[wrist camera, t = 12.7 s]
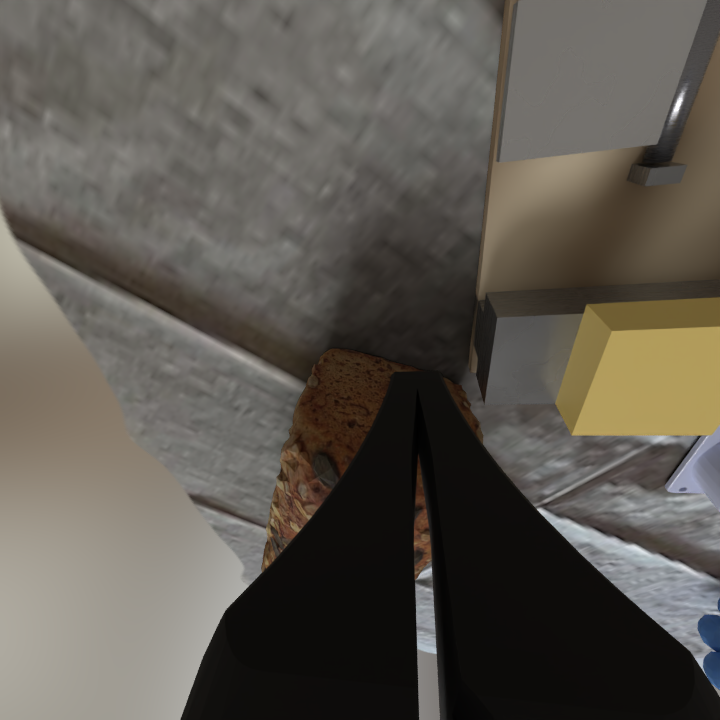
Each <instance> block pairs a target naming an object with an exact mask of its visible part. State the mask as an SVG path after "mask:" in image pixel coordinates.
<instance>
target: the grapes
mask: <svg viewBox="0 0 720 720" xmlns="http://www.w3.org/2000/svg"><path fill="white" fill-rule="evenodd" d="M718 609H719V611H720V599H719V600H718ZM698 631H699V634H700V636H701V638H702V640H703V642H704V643H705V644H707V645H708V646H709V647H710V648H712V649H713V650H715V651H716V652H710V653H709V654H707V655H706V656H705V658H704V661H703V668H704V671H705V673H706V675H707V677H708V679H709V681H710V683H711V684H713V685H714V686H715V687H716V688H718V689H719V690H720V616H718V615H704V616H703V617H702V618H701V619H700V620H699V621H698Z"/></svg>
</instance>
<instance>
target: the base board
mask: <svg viewBox="0 0 720 720" xmlns="http://www.w3.org/2000/svg"><path fill="white" fill-rule="evenodd" d="M517 1H519V0H505V6H504V16H503V26H502V36H501V46H500V56H499V66H498V76H497V86H496V95H495V105H494V115H493V125H492V135H491V145H490V155H489V165H488V175H487V185H486V195H485V205H484V215H483V224H482V234H481V244H480V254H479V264H478V274H477V284H476V296H477V298H478V300H485V296H486V292H503V291H521V290H538V289H556V288H573V287H591V286H609V285H626V284H644V283H662V282H679V281H697V280H715V279H720V36H719V39H718V41H717V44H716V47H715V49H714V52H713V54H712V57H711V60H710V62H709V65H708V68H707V70H706V73H705V76H704V78H703V81H702V83H701V86H700V89H699V91H698V94H697V97H696V99H695V102H694V104H693V107H692V110H691V112H690V115H689V118H688V120H687V123H686V125H685V128H684V131H683V133H682V136H681V139H680V141H679V144H678V146H677V149H676V152H675V154H674V157H673V160H672V161H670V162H675V163H680V164H686V165H687V167H686V170H685V172H684V175H683V177H682V180H681V182H680V183H676V184H666V185H655V186H642V185H638V184H635V183H632V182H629V181H626V180H627V177H628V174H629V171H630V168H631V165H632V164H637V163H645V162H642V161H643V158H644V155H645V152H646V149H647V146H648V145H647V146H638V147H630V148H621V149H613V150H604V151H596V152H587V153H579V154H570V155H561V156H553V157H544V158H536V159H527V160H519V161H510V162H502V163H499V162H497V161H496V156H497V147H498V138H499V129H500V120H501V111H502V102H503V94H504V85H505V76H506V67H507V58H508V49H509V40H510V31H511V22H512V13H513V5H514V4H515V3H516V2H517ZM478 300H477V301H478ZM476 307H478V302H477V305H476ZM475 309H476V310H475V311H476V313H475V315H476V316H477V308H475ZM476 316H475V317H474V318H475V319H474V318H473V320H474V323H473V327H472V328H474V329H472V330H473V331H472V334H471V337H473V338H471V344H470V353H469V363H468V365H469V369H470V373H476V370H477V362H478V357H477V354H476V351H475V348H474V344H473V343H474V335H475V325H476Z"/></svg>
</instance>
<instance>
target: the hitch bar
mask: <svg viewBox="0 0 720 720" xmlns="http://www.w3.org/2000/svg"><path fill="white" fill-rule="evenodd" d="M686 167H687V165H686V164H680V163H675V162H664V163H637V164H632V165H631V168H630V171H629V174H628V177H627V180H626V181H629V182H632V183H635V184H638V185H642V186H655V185H666V184H676V183H680V182H681V180H682V177H683V175H684V172H685V170H686ZM716 297H720V279H715V280H697V281H679V282H662V283H644V284H626V285H609V286H591V287H573V288H556V289H538V290H521V291H503V292H486V296H485V300H478V298H477V296H476V294H475V304H474V314H473V318H474V317H475V316H476V315H475V313H476V311H475V310H476V309H475V308H477V316H476V325H475V335H474V343H473V344H474V348H475V351H476V354H477V357H478V362H477V370H476V376H477V380H478V383H479V387H480V390H481V394H482V398H483V401H484V405H487V404H555V403H556V399H557V396H558V393H559V390H560V387H561V384H562V380H563V377H564V374H565V371H566V368H567V365H568V361H569V358H570V355H571V352H572V349H573V346H574V342H575V339H576V336H577V333H578V330H579V327H580V323H581V320H582V317H583V314H584V311H585V308H586V304H601V303H620V302H639V301H658V300H677V299H696V298H716ZM477 300H478V301H477ZM477 302H478V307H476V305H477ZM474 319H475V318H474ZM473 323H474V320H473ZM472 327H473V324H472ZM472 329H474V328H472ZM472 331H473V330H472ZM471 338H473V337H471Z"/></svg>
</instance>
